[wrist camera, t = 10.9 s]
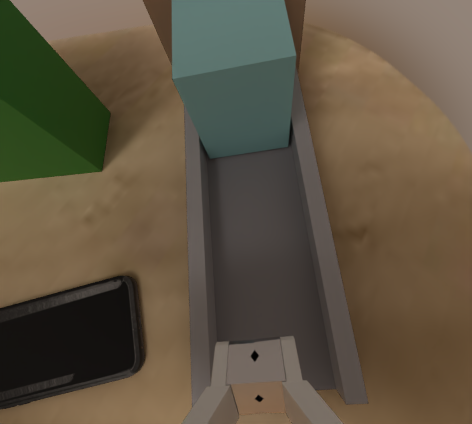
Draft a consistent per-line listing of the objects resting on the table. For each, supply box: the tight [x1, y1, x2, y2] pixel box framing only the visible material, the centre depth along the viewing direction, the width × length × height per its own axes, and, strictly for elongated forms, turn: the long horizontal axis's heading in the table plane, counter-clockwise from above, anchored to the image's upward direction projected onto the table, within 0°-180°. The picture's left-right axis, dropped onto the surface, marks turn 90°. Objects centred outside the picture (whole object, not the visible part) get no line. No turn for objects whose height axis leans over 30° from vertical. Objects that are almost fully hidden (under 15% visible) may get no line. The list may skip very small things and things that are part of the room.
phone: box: [0, 276, 145, 409], centre depth 21 cm, size 8×1×15 cm
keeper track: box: [143, 0, 368, 407], centre depth 18 cm, size 11×30×12 cm, turn 5°
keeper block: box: [172, 0, 296, 159], centre depth 20 cm, size 7×7×9 cm
